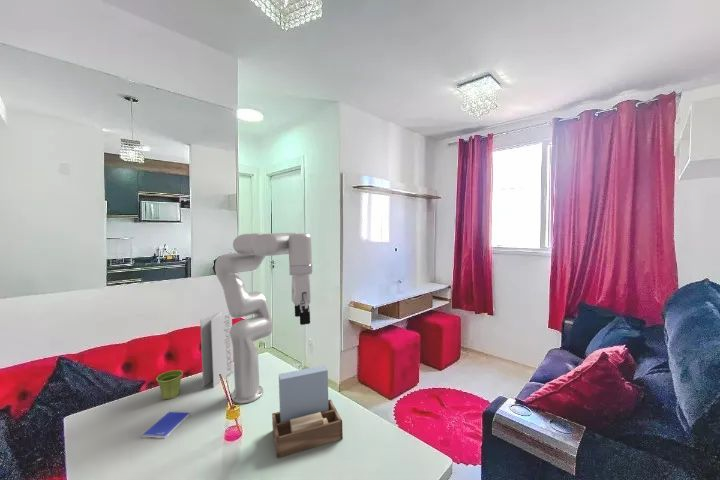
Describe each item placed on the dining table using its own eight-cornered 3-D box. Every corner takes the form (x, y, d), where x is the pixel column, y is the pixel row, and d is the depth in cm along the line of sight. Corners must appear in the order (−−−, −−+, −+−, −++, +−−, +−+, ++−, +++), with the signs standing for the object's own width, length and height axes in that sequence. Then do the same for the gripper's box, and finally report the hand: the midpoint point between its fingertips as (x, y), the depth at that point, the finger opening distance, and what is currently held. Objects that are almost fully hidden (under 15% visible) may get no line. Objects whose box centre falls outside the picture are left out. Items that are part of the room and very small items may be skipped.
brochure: (213, 387, 131) (211, 320, 130) (202, 386, 132) (200, 319, 131) (233, 372, 145) (231, 311, 144) (223, 371, 146) (221, 310, 145)
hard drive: (165, 435, 99) (189, 412, 112) (142, 434, 100) (168, 411, 112) (165, 439, 100) (189, 416, 112) (142, 438, 100) (168, 415, 112)
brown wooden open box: (272, 430, 102) (272, 413, 102) (331, 415, 110) (330, 399, 110) (277, 458, 90) (276, 438, 89) (342, 438, 97) (342, 421, 97)
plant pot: (188, 393, 127) (187, 373, 126) (164, 404, 119) (163, 383, 118) (176, 387, 132) (176, 368, 131) (153, 397, 124) (152, 377, 124)
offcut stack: (286, 443, 96) (285, 420, 96) (327, 431, 101) (327, 409, 101) (287, 452, 92) (287, 428, 92) (331, 439, 97) (330, 417, 97)
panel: (280, 431, 102) (278, 374, 101) (325, 419, 107) (324, 365, 107) (281, 439, 98) (280, 379, 97) (328, 426, 104) (327, 370, 103)
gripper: (285, 267, 107) (287, 314, 108) (293, 274, 91) (295, 329, 92) (306, 266, 110) (307, 312, 111) (317, 272, 94) (319, 325, 95)
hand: (302, 319), depth 101 cm, fingers open, 9 cm apart
